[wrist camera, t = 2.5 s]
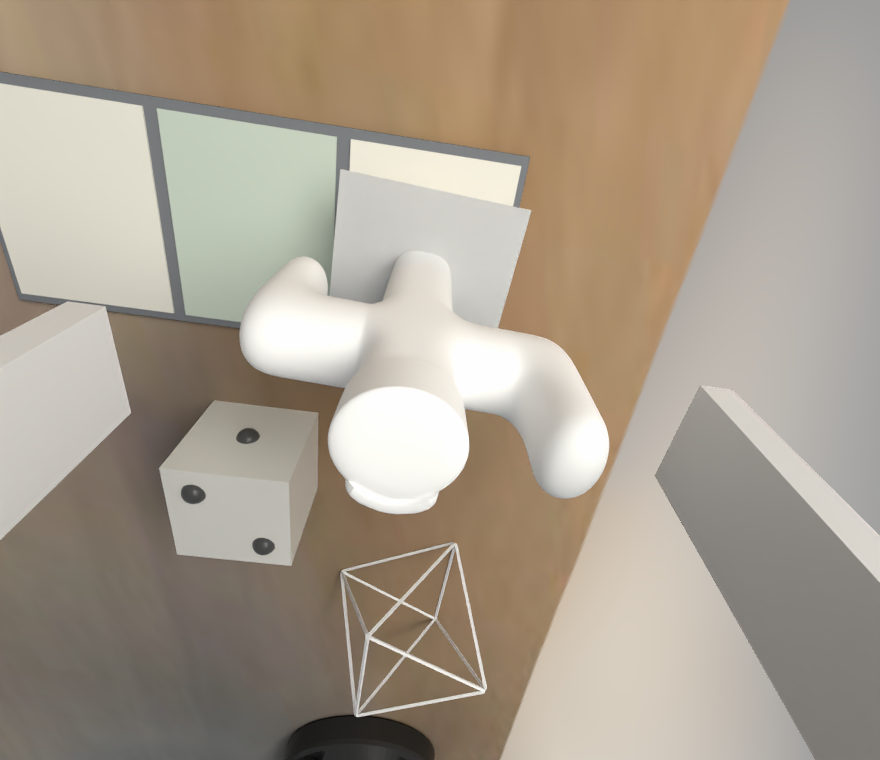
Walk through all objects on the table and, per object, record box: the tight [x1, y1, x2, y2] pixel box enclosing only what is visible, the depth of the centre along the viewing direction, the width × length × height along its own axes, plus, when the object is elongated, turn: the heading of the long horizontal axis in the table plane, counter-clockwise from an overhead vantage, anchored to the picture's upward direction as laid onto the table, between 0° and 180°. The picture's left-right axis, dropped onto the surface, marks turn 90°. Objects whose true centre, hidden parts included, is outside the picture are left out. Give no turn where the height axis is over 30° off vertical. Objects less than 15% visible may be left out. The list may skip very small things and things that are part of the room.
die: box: [159, 400, 318, 566], centre depth 26 cm, size 6×6×6 cm
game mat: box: [0, 72, 530, 328], centre depth 22 cm, size 10×24×1 cm, turn 82°
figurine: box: [239, 169, 609, 514], centre depth 16 cm, size 7×9×15 cm
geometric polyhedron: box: [340, 542, 487, 717], centre depth 31 cm, size 10×9×8 cm
